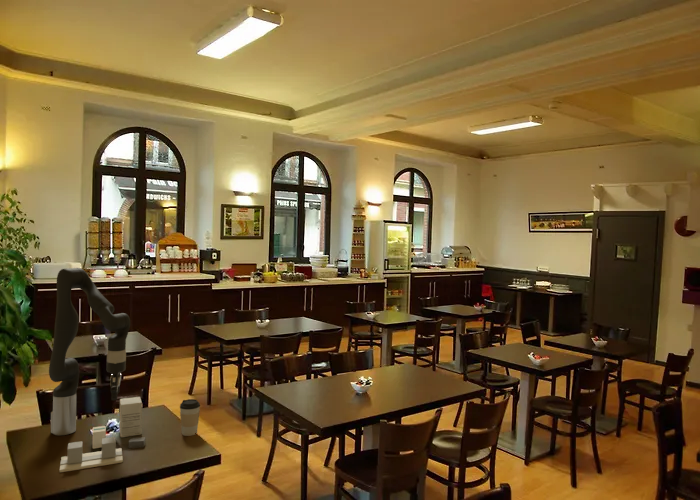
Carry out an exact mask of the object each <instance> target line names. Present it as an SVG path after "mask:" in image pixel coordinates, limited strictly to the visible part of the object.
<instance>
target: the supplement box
mask: <svg viewBox="0 0 700 500" xmlns="http://www.w3.org/2000/svg"><path fill="white" fill-rule="evenodd" d="M142 412H143V402H142V399H141V396H136V397H135V396H134V397H124V398H120V399H119V435H120V438H126V437H132V436H133V437H134V436H139V435H142V434H143V433H142V429H143V427H142V426H143V424H142V423H143V422H142V421H143V420H142V419H143V413H142Z"/></svg>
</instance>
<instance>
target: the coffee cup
mask: <svg viewBox="0 0 700 500" xmlns="http://www.w3.org/2000/svg"><path fill="white" fill-rule="evenodd" d="M200 408H201V404H200V402H199V401H198V400H197V399H193V398H190V399H189V398H188V399H183V400H182V402H181V403H180V405H179V413H180V415H179V417H180V426H181V428H180V429H181V435H183V436H185V437H187V436H188V437H189V436H194V435H196V434H197V433H198V428H199V427H198V425H199V419H200V412H201V411H200ZM195 433H196V434H195Z"/></svg>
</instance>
